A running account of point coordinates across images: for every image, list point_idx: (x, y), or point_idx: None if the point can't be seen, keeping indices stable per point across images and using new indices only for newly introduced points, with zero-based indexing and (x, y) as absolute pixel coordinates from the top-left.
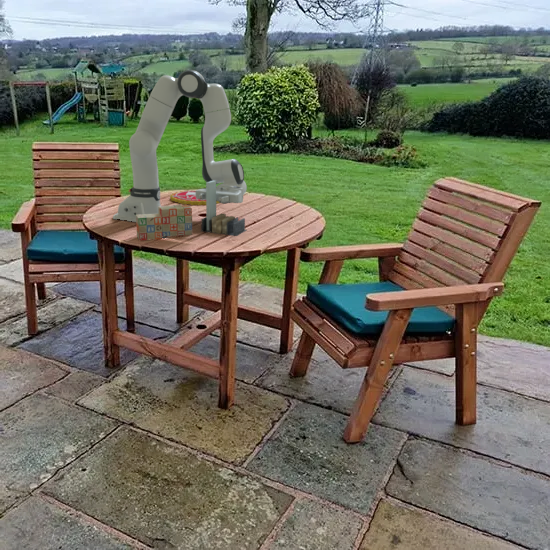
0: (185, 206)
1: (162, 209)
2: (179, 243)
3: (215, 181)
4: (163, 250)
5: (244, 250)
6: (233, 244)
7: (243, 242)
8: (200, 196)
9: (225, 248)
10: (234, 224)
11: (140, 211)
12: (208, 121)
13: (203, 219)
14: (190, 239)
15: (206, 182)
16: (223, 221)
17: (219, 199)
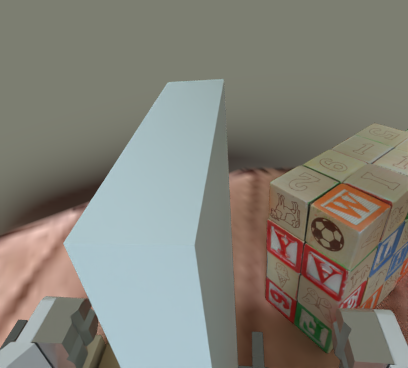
0: (333, 193)
1: (372, 125)
2: (258, 218)
3: (89, 222)
4: (259, 168)
5: (26, 235)
6: (62, 273)
7: (14, 312)
8: (360, 311)
9: None
10: (23, 323)
11: None
12: None
13: (252, 347)
14: (250, 265)
15: (222, 82)
16: (95, 339)
17: (87, 305)
